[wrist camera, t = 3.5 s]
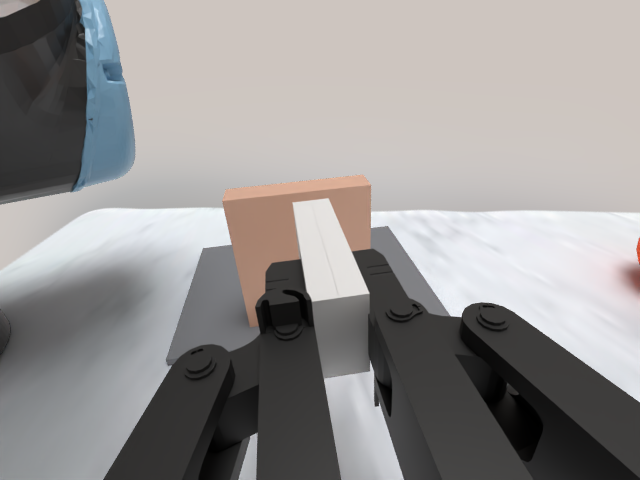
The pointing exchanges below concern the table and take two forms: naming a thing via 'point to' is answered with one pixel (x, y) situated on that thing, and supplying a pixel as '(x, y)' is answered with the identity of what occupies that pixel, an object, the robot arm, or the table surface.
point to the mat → (229, 307)
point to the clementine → (638, 250)
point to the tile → (288, 225)
